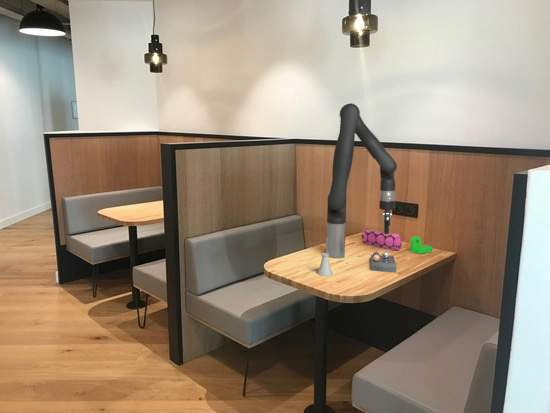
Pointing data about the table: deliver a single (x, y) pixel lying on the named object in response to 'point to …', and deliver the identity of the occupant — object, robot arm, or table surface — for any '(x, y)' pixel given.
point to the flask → (325, 266)
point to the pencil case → (382, 239)
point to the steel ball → (385, 254)
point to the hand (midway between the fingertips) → (386, 233)
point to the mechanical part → (419, 246)
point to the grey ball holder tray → (383, 264)
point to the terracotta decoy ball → (376, 258)
